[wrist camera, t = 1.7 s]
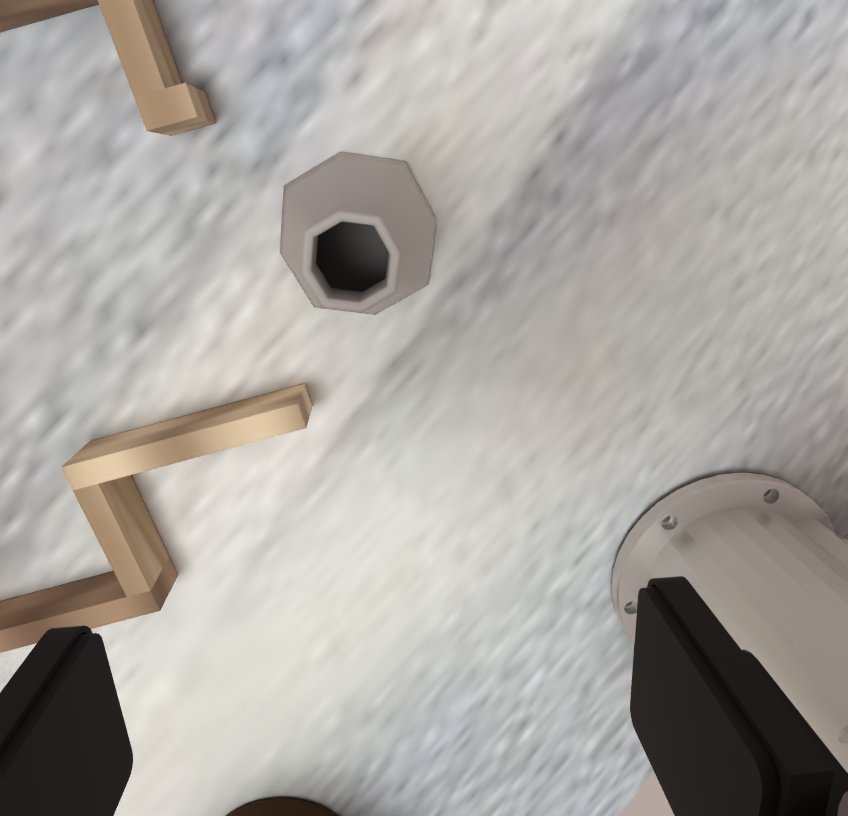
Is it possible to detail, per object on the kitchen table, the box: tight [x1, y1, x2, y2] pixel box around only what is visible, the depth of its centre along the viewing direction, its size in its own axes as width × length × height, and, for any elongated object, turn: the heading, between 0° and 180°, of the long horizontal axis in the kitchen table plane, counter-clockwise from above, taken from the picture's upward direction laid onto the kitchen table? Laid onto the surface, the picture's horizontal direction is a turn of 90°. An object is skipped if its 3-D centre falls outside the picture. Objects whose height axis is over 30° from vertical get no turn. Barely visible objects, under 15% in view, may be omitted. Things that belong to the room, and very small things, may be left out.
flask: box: [280, 152, 437, 314], centre depth 25 cm, size 7×7×10 cm
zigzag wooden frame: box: [0, 0, 312, 653], centre depth 28 cm, size 23×27×3 cm
